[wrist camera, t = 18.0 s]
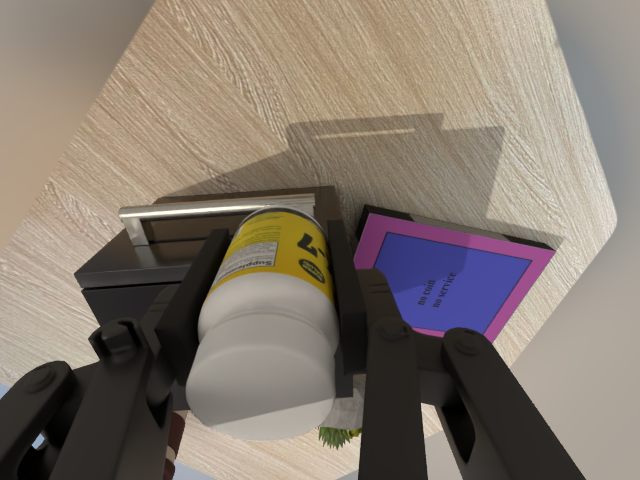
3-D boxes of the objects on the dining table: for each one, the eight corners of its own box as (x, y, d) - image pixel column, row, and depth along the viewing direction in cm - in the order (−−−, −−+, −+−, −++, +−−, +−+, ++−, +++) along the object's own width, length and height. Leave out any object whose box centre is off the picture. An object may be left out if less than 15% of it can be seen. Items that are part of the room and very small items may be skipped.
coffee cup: (169, 378, 59) (131, 465, 46) (206, 402, 64) (181, 489, 50) (135, 398, 62) (90, 487, 49) (173, 420, 66) (141, 507, 53)
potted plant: (390, 369, 56) (384, 437, 59) (333, 344, 64) (331, 405, 67) (354, 408, 47) (351, 486, 50) (293, 373, 54) (293, 443, 58)
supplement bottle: (341, 268, 16) (371, 428, 9) (260, 295, 17) (226, 467, 9) (307, 187, 14) (312, 311, 7) (216, 221, 15) (127, 370, 7)
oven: (163, 209, 43) (80, 291, 27) (334, 197, 43) (352, 270, 27) (196, 308, 51) (148, 413, 36) (338, 297, 52) (353, 397, 36)
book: (488, 348, 56) (329, 327, 50) (479, 336, 58) (328, 315, 53) (556, 251, 46) (369, 212, 41) (542, 241, 49) (365, 204, 44)
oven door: (149, 170, 40) (51, 234, 24) (333, 157, 40) (351, 213, 25) (162, 208, 42) (81, 288, 27) (334, 196, 43) (352, 268, 27)
